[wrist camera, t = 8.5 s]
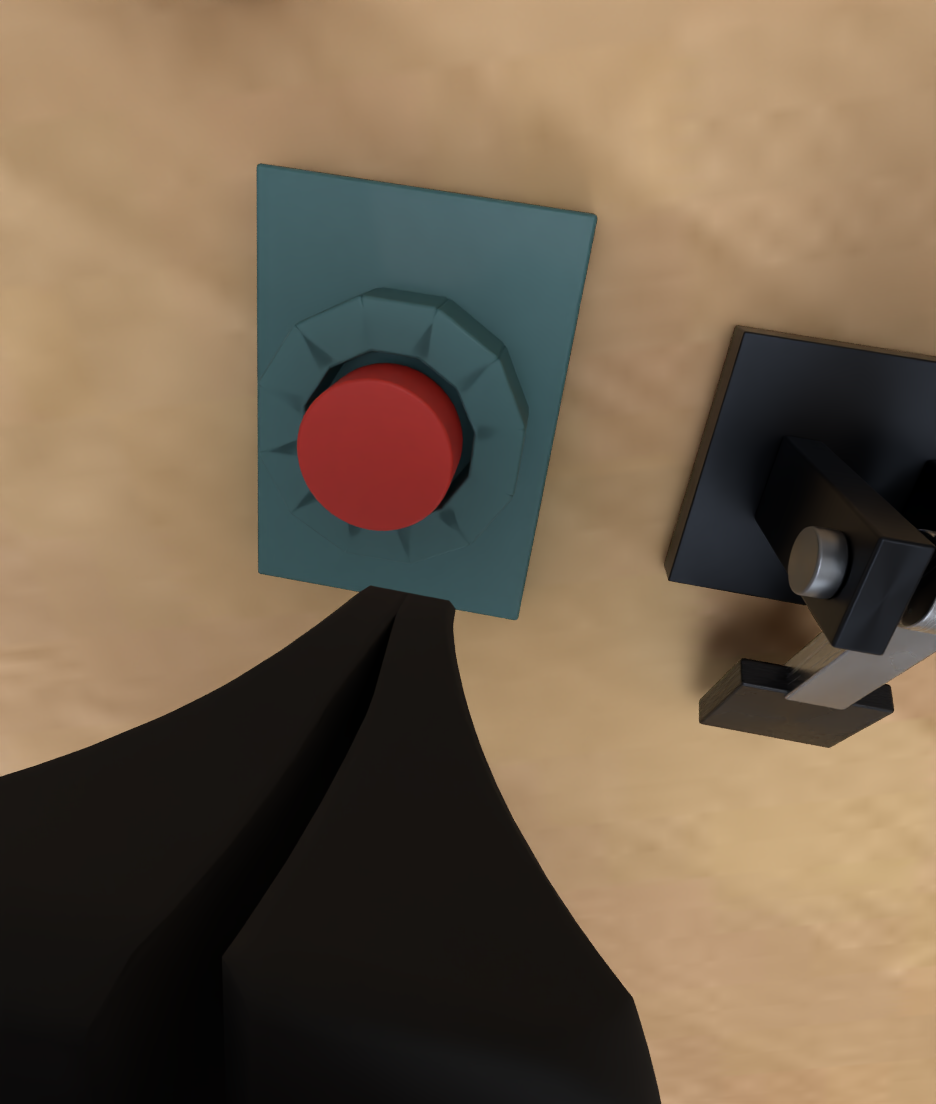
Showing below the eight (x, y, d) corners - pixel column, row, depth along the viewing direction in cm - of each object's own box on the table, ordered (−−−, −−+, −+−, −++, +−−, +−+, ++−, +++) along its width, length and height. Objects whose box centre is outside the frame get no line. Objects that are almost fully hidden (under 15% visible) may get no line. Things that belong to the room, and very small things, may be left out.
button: (453, 515, 18) (442, 544, 16) (317, 491, 18) (294, 517, 17) (472, 375, 16) (462, 393, 15) (322, 350, 16) (297, 365, 15)
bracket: (935, 613, 20) (1104, 799, 14) (663, 565, 21) (706, 724, 14) (1059, 375, 17) (1350, 476, 11) (735, 324, 18) (831, 391, 11)
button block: (520, 598, 22) (513, 656, 19) (274, 553, 22) (231, 604, 20) (595, 214, 17) (601, 215, 14) (277, 165, 17) (220, 157, 15)
